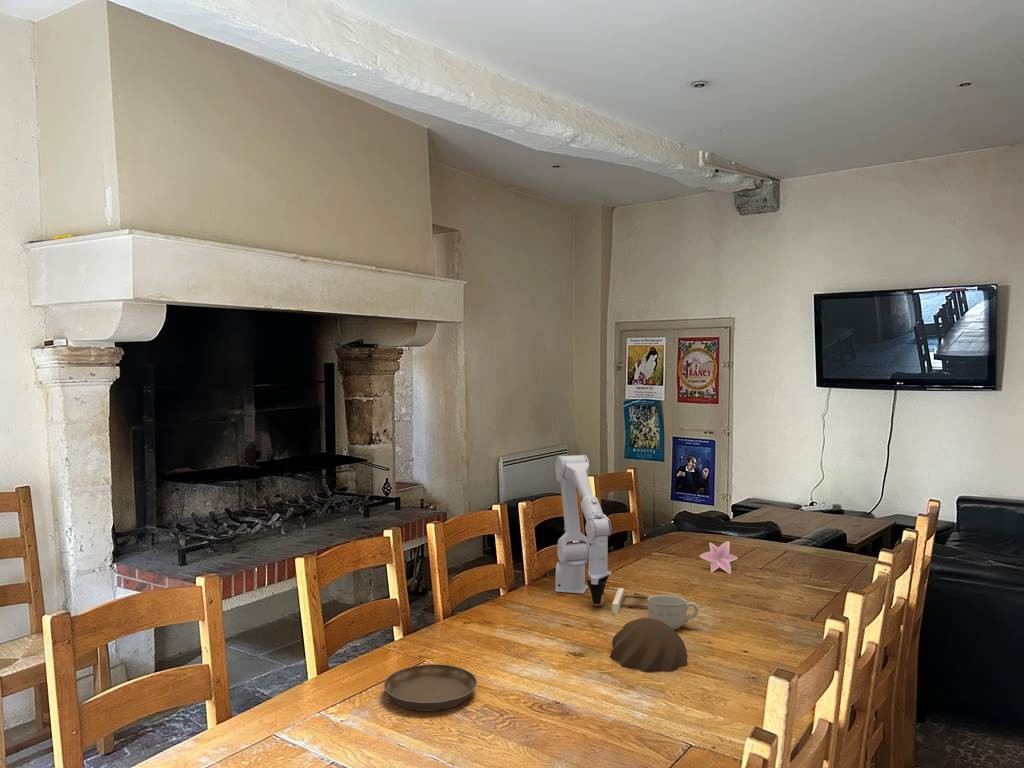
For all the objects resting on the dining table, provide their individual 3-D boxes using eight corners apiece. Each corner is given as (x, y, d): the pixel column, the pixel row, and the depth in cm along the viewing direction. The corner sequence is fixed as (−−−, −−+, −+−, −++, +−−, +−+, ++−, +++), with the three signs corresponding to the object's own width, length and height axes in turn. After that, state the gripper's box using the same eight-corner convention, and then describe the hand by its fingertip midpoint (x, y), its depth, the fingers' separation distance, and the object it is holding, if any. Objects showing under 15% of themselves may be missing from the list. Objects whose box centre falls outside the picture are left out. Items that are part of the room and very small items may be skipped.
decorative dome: (631, 678, 176) (632, 636, 176) (597, 647, 195) (597, 609, 195) (703, 668, 182) (703, 627, 182) (663, 639, 201) (663, 602, 201)
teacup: (642, 629, 208) (642, 601, 208) (653, 617, 218) (654, 590, 217) (692, 638, 201) (692, 608, 201) (701, 625, 211) (702, 597, 211)
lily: (695, 571, 271) (698, 551, 266) (709, 553, 279) (713, 533, 274) (725, 586, 264) (729, 567, 259) (739, 567, 272) (744, 548, 267)
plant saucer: (431, 669, 181) (431, 655, 181) (495, 693, 168) (495, 678, 168) (364, 698, 165) (364, 683, 165) (430, 727, 152) (430, 711, 152)
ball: (590, 607, 227) (590, 594, 226) (592, 603, 230) (592, 590, 230) (603, 608, 226) (603, 595, 225) (605, 604, 229) (605, 591, 229)
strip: (612, 613, 221) (612, 603, 221) (618, 597, 236) (618, 588, 236) (617, 614, 220) (617, 604, 220) (623, 597, 236) (623, 588, 236)
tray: (620, 607, 227) (620, 603, 227) (623, 598, 235) (624, 594, 235) (651, 610, 224) (651, 606, 224) (653, 600, 233) (653, 596, 233)
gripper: (607, 564, 220) (607, 609, 220) (614, 552, 234) (613, 595, 234) (584, 562, 221) (584, 607, 222) (591, 550, 235) (591, 593, 236)
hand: (597, 601), depth 228 cm, fingers closed on ball, 4 cm apart
